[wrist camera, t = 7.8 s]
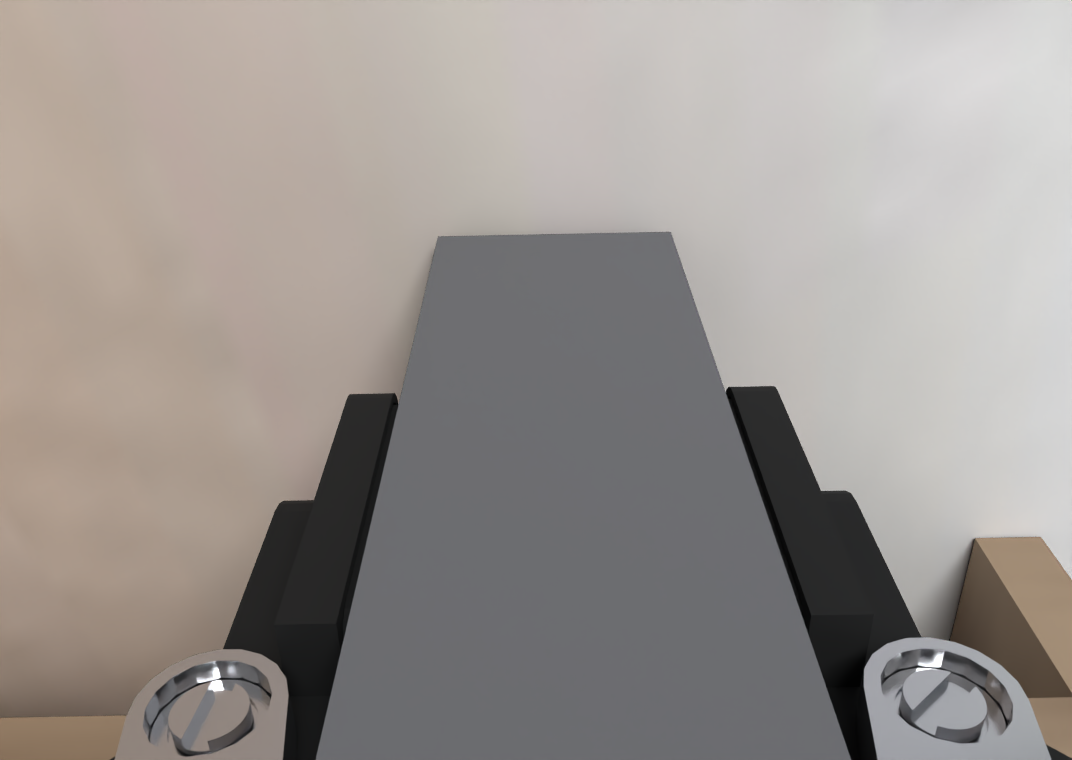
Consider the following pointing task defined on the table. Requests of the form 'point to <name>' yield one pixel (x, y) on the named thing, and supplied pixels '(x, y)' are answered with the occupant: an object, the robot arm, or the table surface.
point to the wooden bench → (981, 624)
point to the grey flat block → (571, 531)
